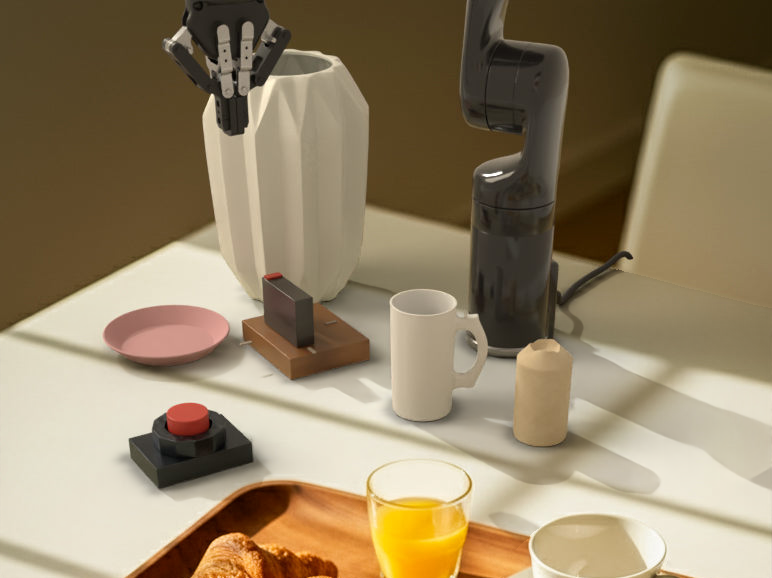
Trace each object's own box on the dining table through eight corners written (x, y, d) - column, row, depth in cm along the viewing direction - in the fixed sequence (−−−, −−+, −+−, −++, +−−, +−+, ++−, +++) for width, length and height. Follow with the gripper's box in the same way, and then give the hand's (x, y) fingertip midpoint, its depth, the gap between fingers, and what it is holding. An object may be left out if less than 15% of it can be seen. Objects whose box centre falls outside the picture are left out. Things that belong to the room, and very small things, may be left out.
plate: (83, 365, 150) (81, 348, 149) (135, 314, 162) (133, 299, 160) (204, 379, 147) (202, 363, 146) (248, 327, 159) (247, 311, 158)
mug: (385, 421, 140) (385, 313, 133) (393, 391, 145) (393, 287, 139) (482, 427, 139) (487, 319, 132) (486, 397, 144) (491, 292, 138)
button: (199, 414, 133) (197, 398, 132) (216, 431, 130) (215, 415, 129) (161, 424, 131) (159, 408, 130) (178, 441, 128) (176, 425, 127)
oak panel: (318, 321, 160) (317, 300, 159) (370, 359, 152) (370, 338, 150) (218, 345, 155) (216, 324, 153) (266, 387, 146) (264, 364, 145)
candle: (563, 450, 135) (570, 359, 129) (509, 444, 136) (514, 353, 130) (569, 424, 139) (576, 335, 134) (516, 418, 140) (521, 330, 135)
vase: (404, 291, 168) (405, 64, 153) (282, 336, 157) (270, 96, 142) (305, 249, 180) (296, 34, 164) (184, 287, 169) (163, 61, 153)
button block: (222, 432, 137) (220, 397, 135) (253, 462, 132) (251, 426, 130) (130, 457, 133) (126, 422, 131) (158, 489, 128) (154, 452, 126)
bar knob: (314, 343, 149) (313, 295, 146) (297, 348, 148) (295, 299, 145) (281, 318, 155) (278, 271, 152) (264, 322, 154) (261, 274, 151)
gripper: (170, -45, 117) (187, 154, 127) (304, -58, 123) (311, 133, 132) (136, -58, 122) (155, 133, 132) (267, -71, 128) (276, 114, 138)
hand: (233, 133), depth 132 cm, fingers closed
